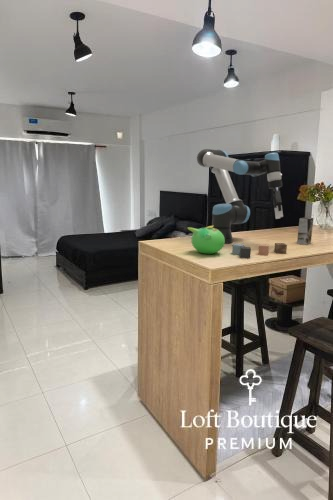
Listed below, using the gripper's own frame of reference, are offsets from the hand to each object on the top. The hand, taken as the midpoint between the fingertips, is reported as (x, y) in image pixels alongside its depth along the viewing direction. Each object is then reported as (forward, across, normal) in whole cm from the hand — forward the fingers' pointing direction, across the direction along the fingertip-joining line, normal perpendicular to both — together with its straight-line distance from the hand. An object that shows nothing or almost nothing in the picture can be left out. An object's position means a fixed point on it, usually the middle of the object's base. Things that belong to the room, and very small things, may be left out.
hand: (279, 218), depth 197 cm
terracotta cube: (+19, -14, +12) cm, 26 cm away
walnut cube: (+19, -8, +3) cm, 21 cm away
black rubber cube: (+19, -25, +22) cm, 38 cm away
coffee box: (+17, +26, -16) cm, 35 cm away
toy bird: (+15, -22, +41) cm, 49 cm away
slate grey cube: (+17, -18, +25) cm, 35 cm away
